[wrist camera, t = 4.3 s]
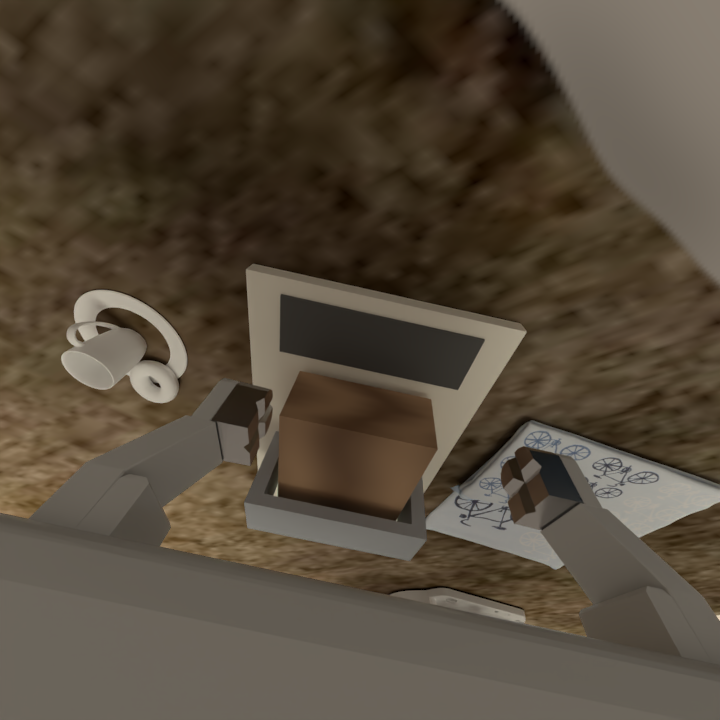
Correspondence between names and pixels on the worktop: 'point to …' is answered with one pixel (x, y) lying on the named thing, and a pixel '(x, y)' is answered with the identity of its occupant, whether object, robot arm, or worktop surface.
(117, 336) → the white ring-shaped piece
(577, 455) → the bicycle print towel
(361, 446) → the wood grain block
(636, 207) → the worktop surface
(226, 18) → the worktop surface
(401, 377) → the board
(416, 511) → the tunnel
